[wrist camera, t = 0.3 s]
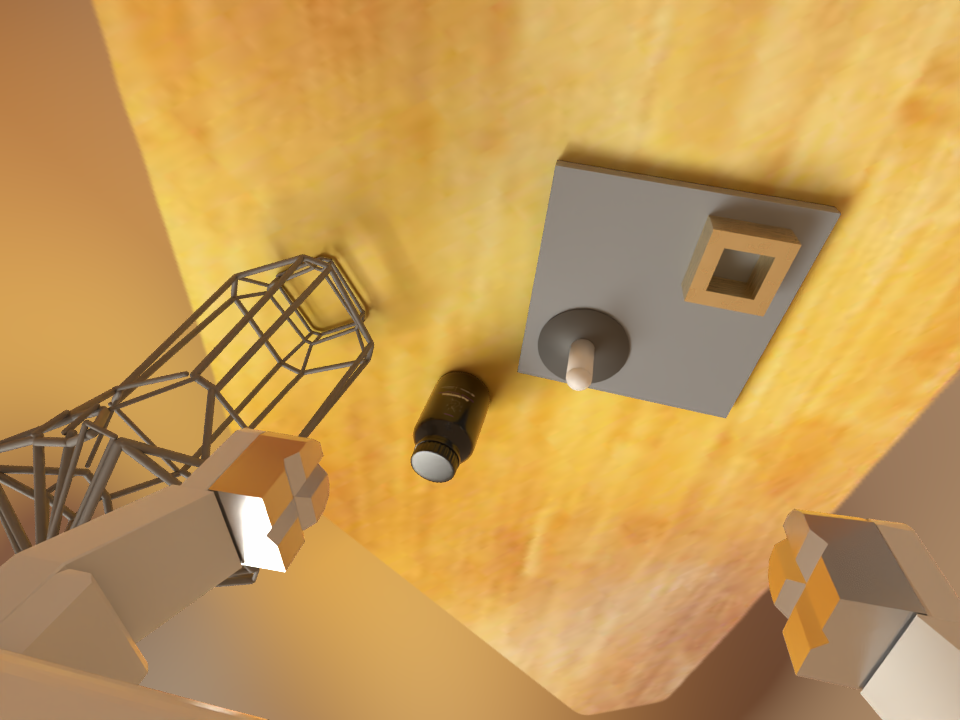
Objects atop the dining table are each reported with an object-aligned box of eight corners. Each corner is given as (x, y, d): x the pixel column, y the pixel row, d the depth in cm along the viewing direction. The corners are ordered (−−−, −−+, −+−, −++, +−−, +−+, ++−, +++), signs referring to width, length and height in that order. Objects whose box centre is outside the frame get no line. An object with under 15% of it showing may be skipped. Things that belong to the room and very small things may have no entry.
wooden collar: (708, 214, 40) (713, 229, 38) (791, 229, 40) (801, 245, 37) (681, 284, 44) (684, 301, 42) (756, 298, 44) (763, 316, 41)
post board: (557, 160, 42) (546, 190, 36) (834, 206, 39) (872, 247, 33) (519, 363, 56) (506, 410, 50) (723, 408, 53) (736, 463, 47)
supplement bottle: (473, 362, 57) (444, 437, 48) (501, 405, 60) (478, 484, 51) (425, 377, 60) (388, 451, 51) (453, 418, 63) (424, 494, 54)
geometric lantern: (344, 214, 50) (3, 500, 22) (412, 342, 57) (221, 671, 30) (230, 254, 56) (-145, 517, 29) (306, 365, 64) (68, 655, 36)
